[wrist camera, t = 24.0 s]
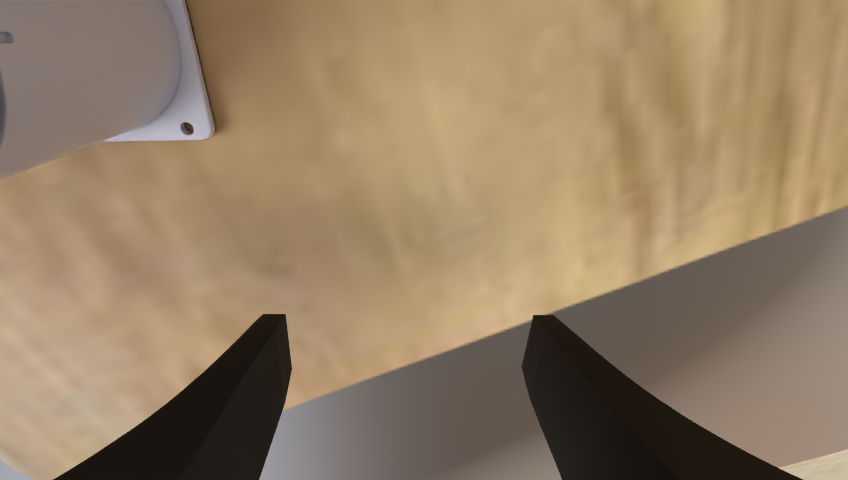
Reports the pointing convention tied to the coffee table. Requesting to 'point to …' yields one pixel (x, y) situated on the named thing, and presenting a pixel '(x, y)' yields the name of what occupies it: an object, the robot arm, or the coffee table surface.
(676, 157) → the coffee table surface
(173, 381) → the coffee table surface
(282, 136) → the coffee table surface
